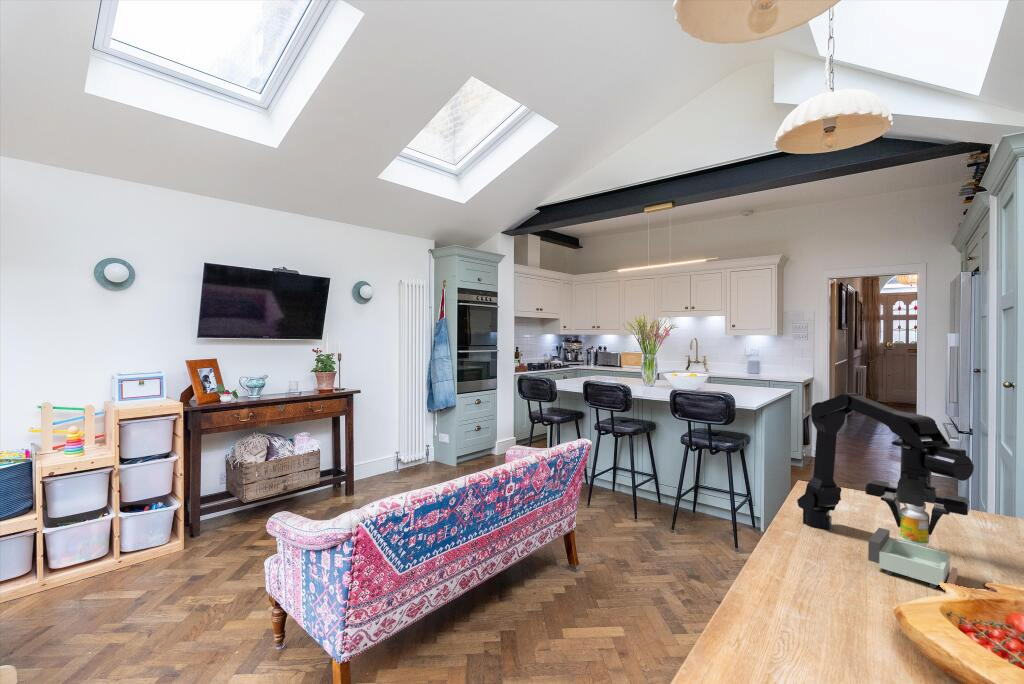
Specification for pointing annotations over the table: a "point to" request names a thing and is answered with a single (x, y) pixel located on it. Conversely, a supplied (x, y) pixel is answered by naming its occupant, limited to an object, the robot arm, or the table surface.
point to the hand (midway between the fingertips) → (914, 530)
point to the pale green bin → (908, 558)
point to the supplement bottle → (914, 524)
